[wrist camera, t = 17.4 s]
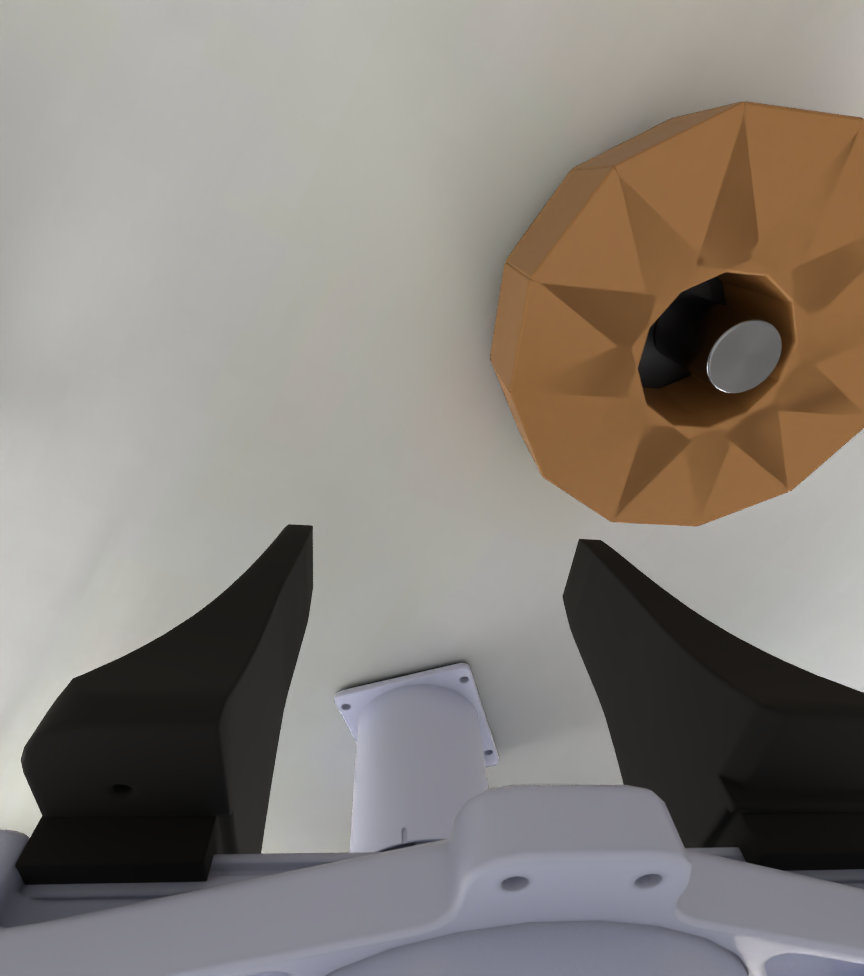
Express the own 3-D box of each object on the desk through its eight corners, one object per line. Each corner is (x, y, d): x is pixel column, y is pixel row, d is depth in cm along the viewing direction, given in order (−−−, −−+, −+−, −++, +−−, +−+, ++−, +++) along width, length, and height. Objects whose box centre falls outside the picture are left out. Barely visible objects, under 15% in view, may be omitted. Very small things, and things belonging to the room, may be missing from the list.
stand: (776, 395, 23) (868, 446, 19) (573, 447, 24) (615, 508, 19) (794, 161, 19) (920, 154, 14) (544, 233, 19) (590, 248, 15)
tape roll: (902, 148, 18) (1025, 139, 14) (752, 482, 24) (812, 532, 21) (529, 97, 16) (565, 75, 13) (472, 465, 23) (487, 516, 19)
